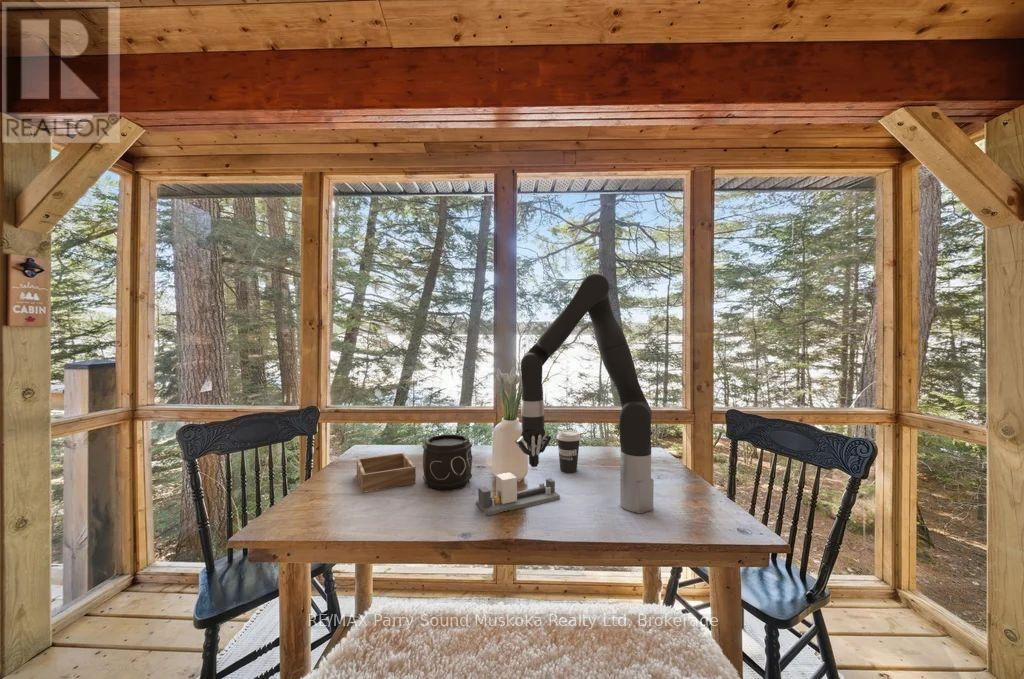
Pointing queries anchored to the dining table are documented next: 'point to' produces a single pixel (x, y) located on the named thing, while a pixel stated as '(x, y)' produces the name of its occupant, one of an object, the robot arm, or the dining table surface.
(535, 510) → the dining table surface
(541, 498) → the gray slide rail base
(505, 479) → the sleeve
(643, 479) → the robot arm
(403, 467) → the box
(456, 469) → the black canister
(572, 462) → the coffee cup
